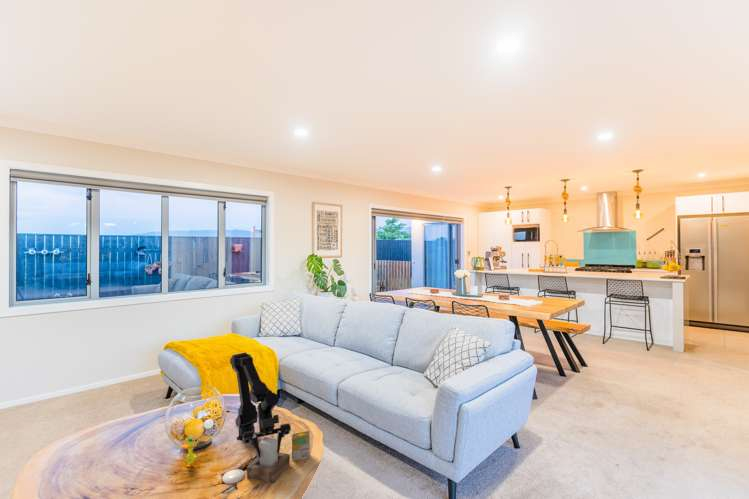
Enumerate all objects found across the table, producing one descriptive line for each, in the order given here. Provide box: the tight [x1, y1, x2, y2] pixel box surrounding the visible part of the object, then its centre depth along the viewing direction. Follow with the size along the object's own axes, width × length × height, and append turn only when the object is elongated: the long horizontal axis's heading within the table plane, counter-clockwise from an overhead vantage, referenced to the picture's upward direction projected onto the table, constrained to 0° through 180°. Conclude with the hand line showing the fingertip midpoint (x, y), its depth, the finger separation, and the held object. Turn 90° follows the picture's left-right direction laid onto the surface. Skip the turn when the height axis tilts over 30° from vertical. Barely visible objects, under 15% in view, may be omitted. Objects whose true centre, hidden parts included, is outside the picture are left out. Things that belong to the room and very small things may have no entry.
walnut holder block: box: [246, 452, 291, 484], centre depth 146 cm, size 12×12×4 cm
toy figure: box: [179, 436, 197, 468], centre depth 150 cm, size 7×4×12 cm, turn 92°
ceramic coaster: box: [222, 468, 245, 485], centre depth 143 cm, size 8×8×1 cm
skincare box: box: [258, 436, 278, 468], centre depth 146 cm, size 6×4×12 cm
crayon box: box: [291, 430, 311, 462], centre depth 156 cm, size 7×3×12 cm, turn 111°
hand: (269, 455), depth 145 cm, fingers closed on skincare box, 7 cm apart
